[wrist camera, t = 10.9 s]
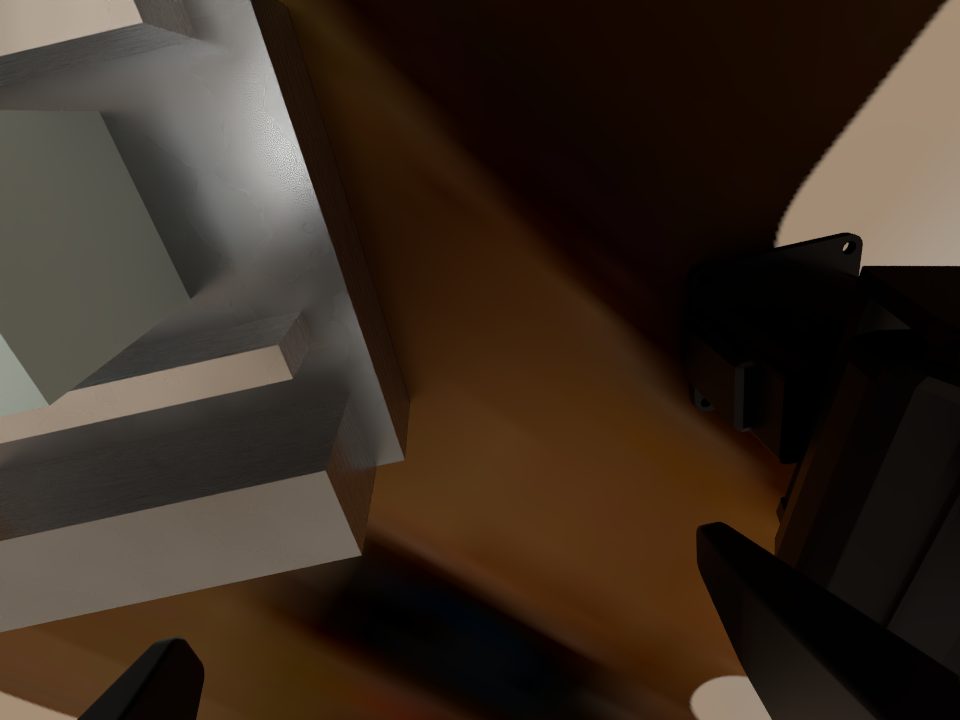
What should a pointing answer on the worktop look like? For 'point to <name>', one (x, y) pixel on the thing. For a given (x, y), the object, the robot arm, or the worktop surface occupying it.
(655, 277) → the worktop surface
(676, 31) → the worktop surface
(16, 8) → the base
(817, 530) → the robot arm
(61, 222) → the block
